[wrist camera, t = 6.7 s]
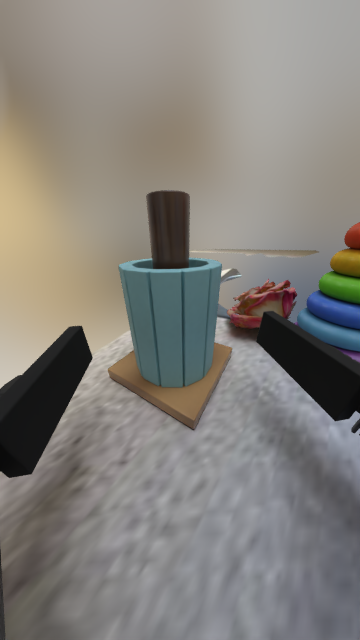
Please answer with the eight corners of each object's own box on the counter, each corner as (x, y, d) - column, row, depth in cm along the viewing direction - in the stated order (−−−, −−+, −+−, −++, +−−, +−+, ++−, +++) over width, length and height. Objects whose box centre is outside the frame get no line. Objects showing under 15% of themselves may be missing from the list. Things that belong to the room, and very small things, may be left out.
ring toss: (109, 377, 17) (52, 191, 10) (165, 333, 24) (157, 211, 17) (193, 430, 12) (205, 140, 5) (231, 355, 19) (257, 198, 12)
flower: (309, 319, 24) (286, 272, 24) (317, 337, 16) (285, 267, 17) (245, 337, 29) (228, 298, 30) (231, 356, 22) (208, 304, 22)
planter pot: (121, 366, 16) (96, 266, 12) (166, 331, 22) (161, 256, 18) (188, 403, 13) (190, 276, 8) (221, 349, 19) (233, 259, 14)
